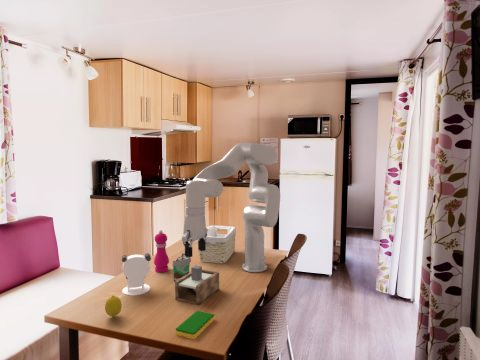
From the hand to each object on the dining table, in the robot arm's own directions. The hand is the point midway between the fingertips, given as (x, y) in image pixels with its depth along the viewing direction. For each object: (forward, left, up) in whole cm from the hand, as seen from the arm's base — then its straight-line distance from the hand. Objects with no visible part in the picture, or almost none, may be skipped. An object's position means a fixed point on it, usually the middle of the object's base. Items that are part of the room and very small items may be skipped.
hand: (195, 253), depth 141 cm
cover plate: (-1, 0, -12) cm, 12 cm away
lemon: (+28, -17, -18) cm, 37 cm away
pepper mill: (-17, -31, -18) cm, 40 cm away
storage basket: (-47, -16, -18) cm, 53 cm away
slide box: (-1, 0, -18) cm, 18 cm away
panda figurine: (+6, -26, -18) cm, 32 cm away
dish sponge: (+21, +13, -18) cm, 31 cm away
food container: (-13, -15, -18) cm, 27 cm away
